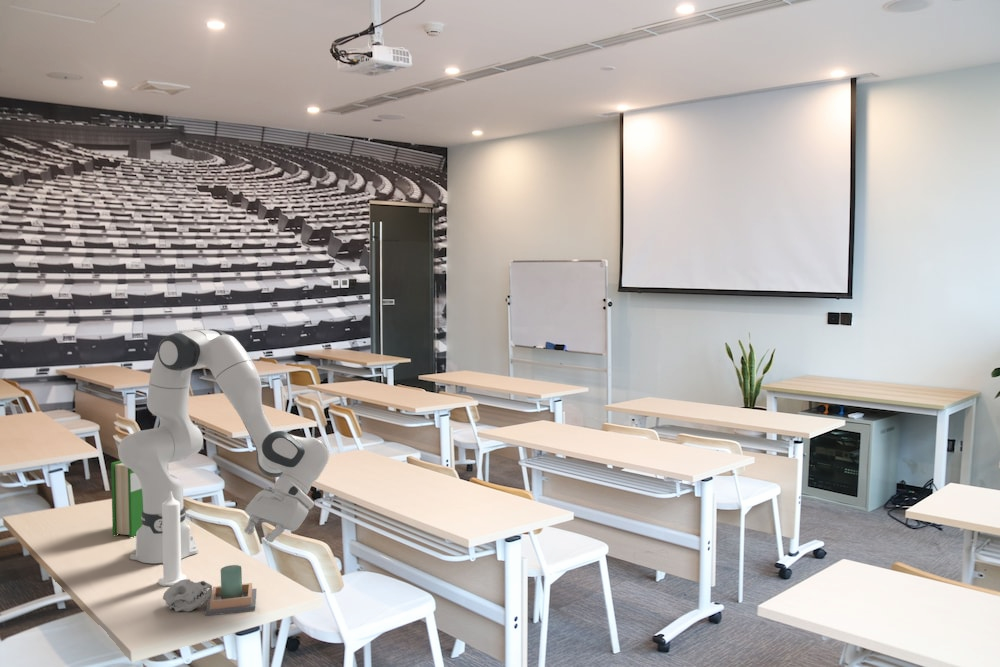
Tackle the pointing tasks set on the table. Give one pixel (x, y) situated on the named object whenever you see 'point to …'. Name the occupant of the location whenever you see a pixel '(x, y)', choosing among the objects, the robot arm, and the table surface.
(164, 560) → the candle
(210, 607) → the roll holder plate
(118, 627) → the table surface
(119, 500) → the hardback book
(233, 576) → the green cylinder
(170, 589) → the skull
